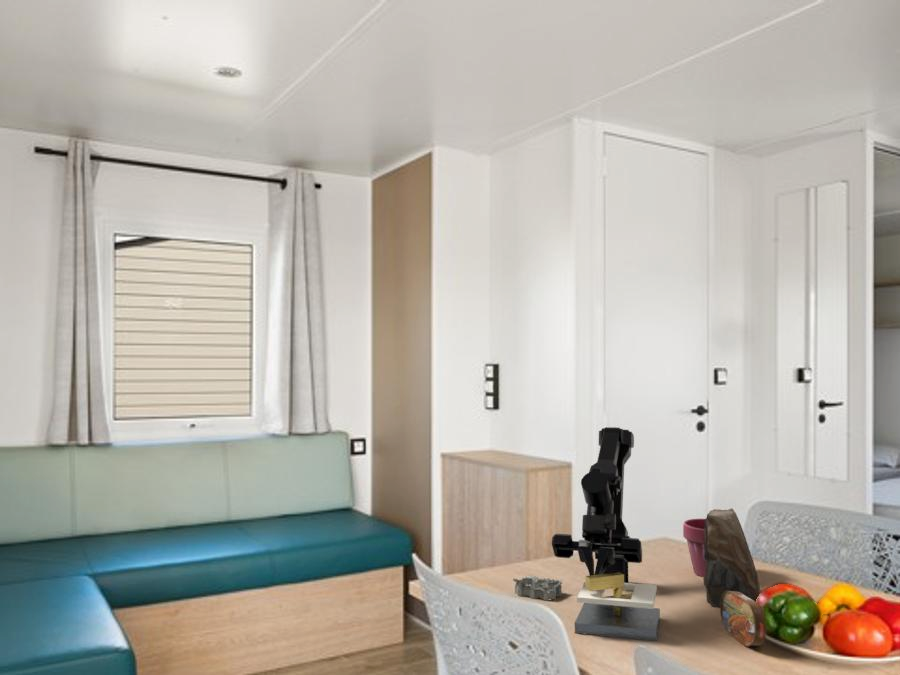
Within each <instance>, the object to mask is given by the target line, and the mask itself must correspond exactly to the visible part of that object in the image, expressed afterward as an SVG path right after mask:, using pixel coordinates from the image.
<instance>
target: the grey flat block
mask: <svg viewBox="0 0 900 675" xmlns="http://www.w3.org/2000/svg"><path fill="white" fill-rule="evenodd" d="M660 620H661V610H660V608H659V607H658V608H656V607H654V608H653V609H650V608H638V607H626V606H623V615H622V616H616V615H614V605H603V604H591V603H583V604H582V606H581V608H580V610H579V613H578V615H577V617H576V619H575V622H574V633H575V634H581V633H585V634H584V635H592V634H594V635H593V636H602V635H604V636H603V637H614V638H622V639H623V638H625V639H635V640H642V641H643V640H645V641H657V640H658V633H659V632H658V631H659V627H660V626H659V625H660ZM595 634H596V635H595Z"/></svg>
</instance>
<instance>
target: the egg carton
mask: <svg viewBox="0 0 900 675" xmlns="http://www.w3.org/2000/svg"><path fill="white" fill-rule="evenodd" d="M512 581H514V583H515V584H514V594H515V595H517V596H519V597H523V596H527V597H529V598H531V599H536V598H538V597H542V598H541V599H543V598H544V599H545V600H544V599H543V600H544V601H549V600H548V599H555V600H557V596H556V595H561V596H562V591H563V590H562V584H563V582H564V579H556V580H555V579H553V578H552V579H550V577H548V578H543V577H537V576H535V575H528V576H525V577H522V579H517V578H513V580H512Z"/></svg>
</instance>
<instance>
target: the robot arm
mask: <svg viewBox="0 0 900 675" xmlns="http://www.w3.org/2000/svg"><path fill="white" fill-rule="evenodd" d="M634 436H635V435H634V433H633V432H632V431H630V430H629V429H623V428H620V427H616V426H615V427H607V426H606V427H603V428H601V430H599V431H598V446H599V452H598V456H597V461H596V463H594V464H592V465H591V466H590V468H589V470H588V472H587V473H586V474H584V476H583V477H582V478H581V480H580V484H581V485H580V486H581V490H582V492H583V496H584V501H585V504H586V505H587V509H586V514H583V515H582V526H581V527H582V528H581V530H582V532H581V535H582V536H581V537H582V539H579V540H578V541H576V540H573V537H572V534H570V533H569V534H567V533H555V534H554V535H553V536H552V538H551V546H552V551H553V555H554V556H555V557H556V558H560V559H561V558H562V559H570V558H572V557H573V556H574V552H575V551H576V552H577V554H578V557H579V558H578V559H579V562H581V563H584V564H585V566H586V568H587V571H588V574H589V575H588V576H591V575H600V574H608V573H617V572H620V573H622V574H624V583H631V582H630V581H629V563H632V564H633V563H635V564H636V563H637V564H641V563H642V562H643V548H642V546H643V545H642V541H641V540H640V538H635V537H630V535H629V531H628V529H627V527H626V526H625V523H624V521H623V508H624V481H625V480H624V479H625V465H626V463H627V462H628V460H630V458H631V456H632V448H634V446H635V437H634ZM593 554H594V555H593ZM594 558H595V560H596V565H595V560H594Z"/></svg>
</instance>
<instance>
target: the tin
mask: <svg viewBox="0 0 900 675" xmlns="http://www.w3.org/2000/svg"><path fill="white" fill-rule="evenodd" d="M719 613H720V619H721V624H722V626H723V628H724V630H725V632H726V633H727V634H729V636H731V637H733V638H734V639H735V640H736V641H738V642H739V643H740V644H742V645H743V646H744V647H759V646H760V647H761V646H762V645H763V644H764V643H765V641H766V634H767V619H766V614H765V611H764V610H763V608H762V607H761V606H760V605H759V604H758V603H757V602H755V601H754V600H752V599H750V598H749V597H747V596H745V595H744V594H742V593H740V592H736V591H725V592H724V593H723V595H722V598H721V602H720V608H719Z"/></svg>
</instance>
